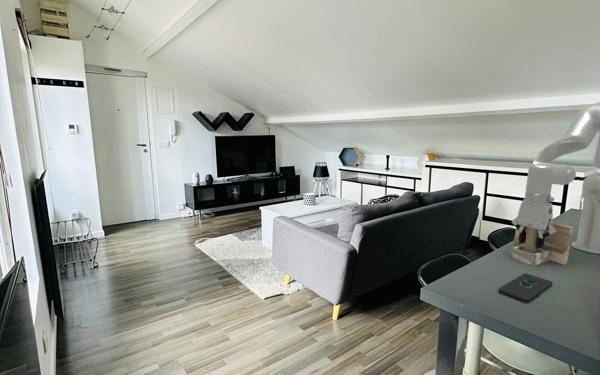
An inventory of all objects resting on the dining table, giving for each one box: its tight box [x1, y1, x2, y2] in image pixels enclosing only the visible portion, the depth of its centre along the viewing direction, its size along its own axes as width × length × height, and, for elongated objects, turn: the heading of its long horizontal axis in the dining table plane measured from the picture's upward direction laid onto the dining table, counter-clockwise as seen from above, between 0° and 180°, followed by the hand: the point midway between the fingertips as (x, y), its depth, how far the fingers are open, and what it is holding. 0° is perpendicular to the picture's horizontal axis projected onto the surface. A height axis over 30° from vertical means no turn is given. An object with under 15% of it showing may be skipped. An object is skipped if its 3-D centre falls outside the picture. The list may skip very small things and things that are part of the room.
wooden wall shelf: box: [509, 222, 574, 267], centre depth 126 cm, size 13×18×14 cm
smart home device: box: [497, 273, 553, 304], centre depth 103 cm, size 8×2×20 cm
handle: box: [524, 223, 539, 254], centre depth 125 cm, size 5×6×15 cm
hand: (530, 244), depth 125 cm, fingers open, 5 cm apart
